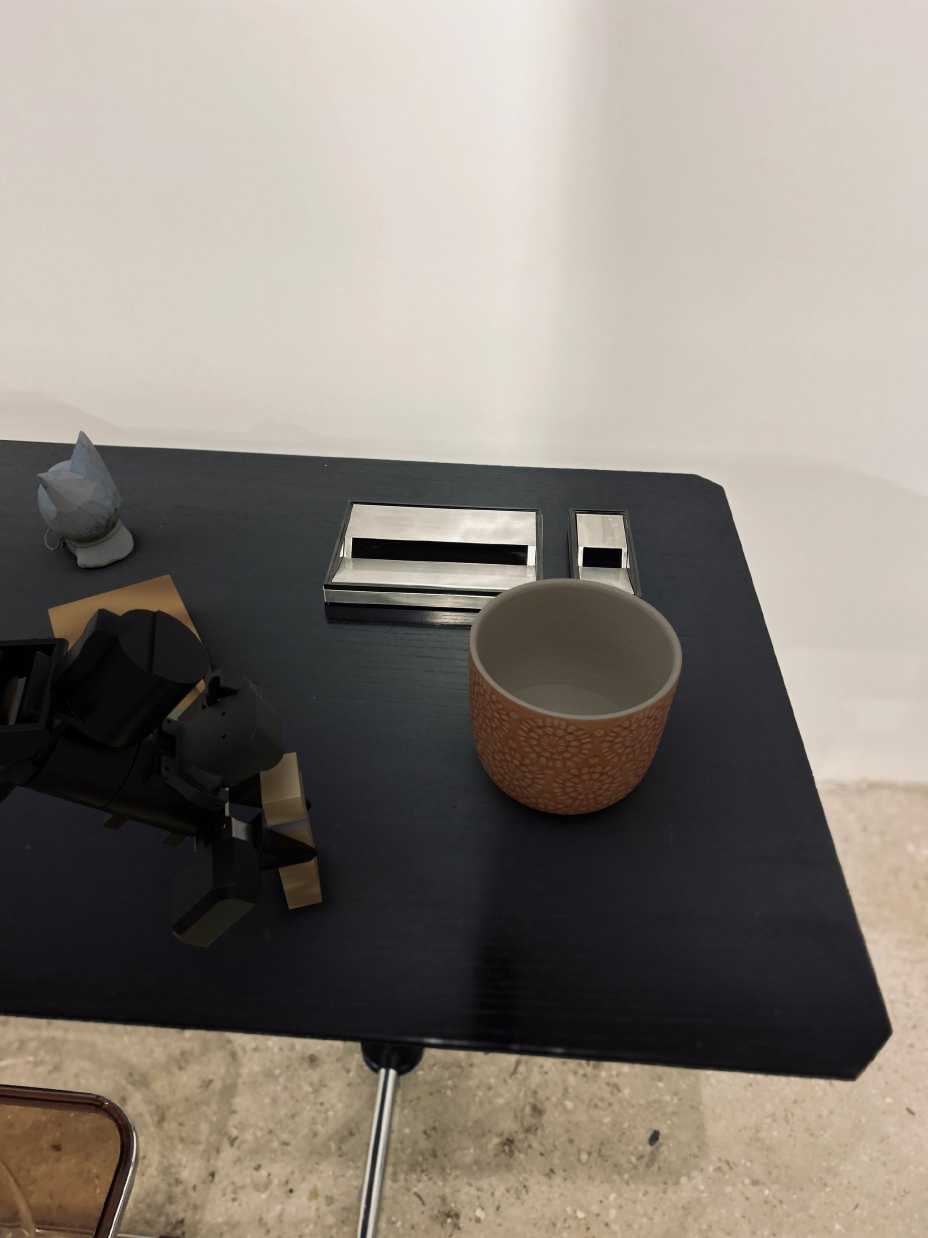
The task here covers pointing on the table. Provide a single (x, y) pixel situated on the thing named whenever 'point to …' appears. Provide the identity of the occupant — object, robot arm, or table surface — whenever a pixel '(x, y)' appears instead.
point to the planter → (570, 692)
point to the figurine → (84, 508)
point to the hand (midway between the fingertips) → (311, 832)
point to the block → (291, 827)
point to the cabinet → (120, 607)
